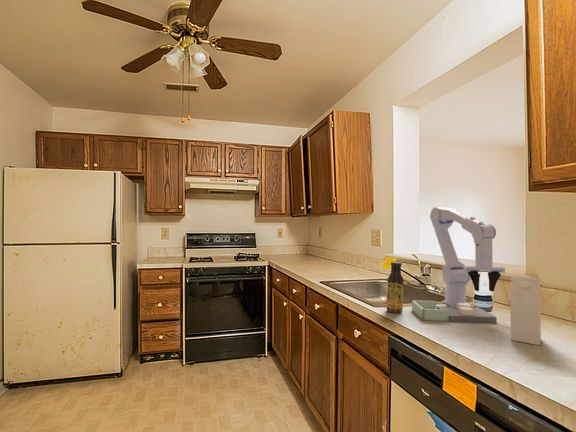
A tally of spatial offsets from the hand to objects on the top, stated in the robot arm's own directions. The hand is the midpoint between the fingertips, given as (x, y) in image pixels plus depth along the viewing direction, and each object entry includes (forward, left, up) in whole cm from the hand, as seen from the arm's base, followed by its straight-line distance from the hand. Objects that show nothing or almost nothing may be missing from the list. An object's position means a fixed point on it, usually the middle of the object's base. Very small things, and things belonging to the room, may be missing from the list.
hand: (484, 290), depth 128 cm
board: (+3, -9, -9) cm, 13 cm away
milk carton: (+27, -1, -10) cm, 29 cm away
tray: (+3, -22, -9) cm, 24 cm away
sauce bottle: (-1, -34, -10) cm, 35 cm away
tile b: (+7, -10, -7) cm, 14 cm away
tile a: (0, -8, -7) cm, 11 cm away
